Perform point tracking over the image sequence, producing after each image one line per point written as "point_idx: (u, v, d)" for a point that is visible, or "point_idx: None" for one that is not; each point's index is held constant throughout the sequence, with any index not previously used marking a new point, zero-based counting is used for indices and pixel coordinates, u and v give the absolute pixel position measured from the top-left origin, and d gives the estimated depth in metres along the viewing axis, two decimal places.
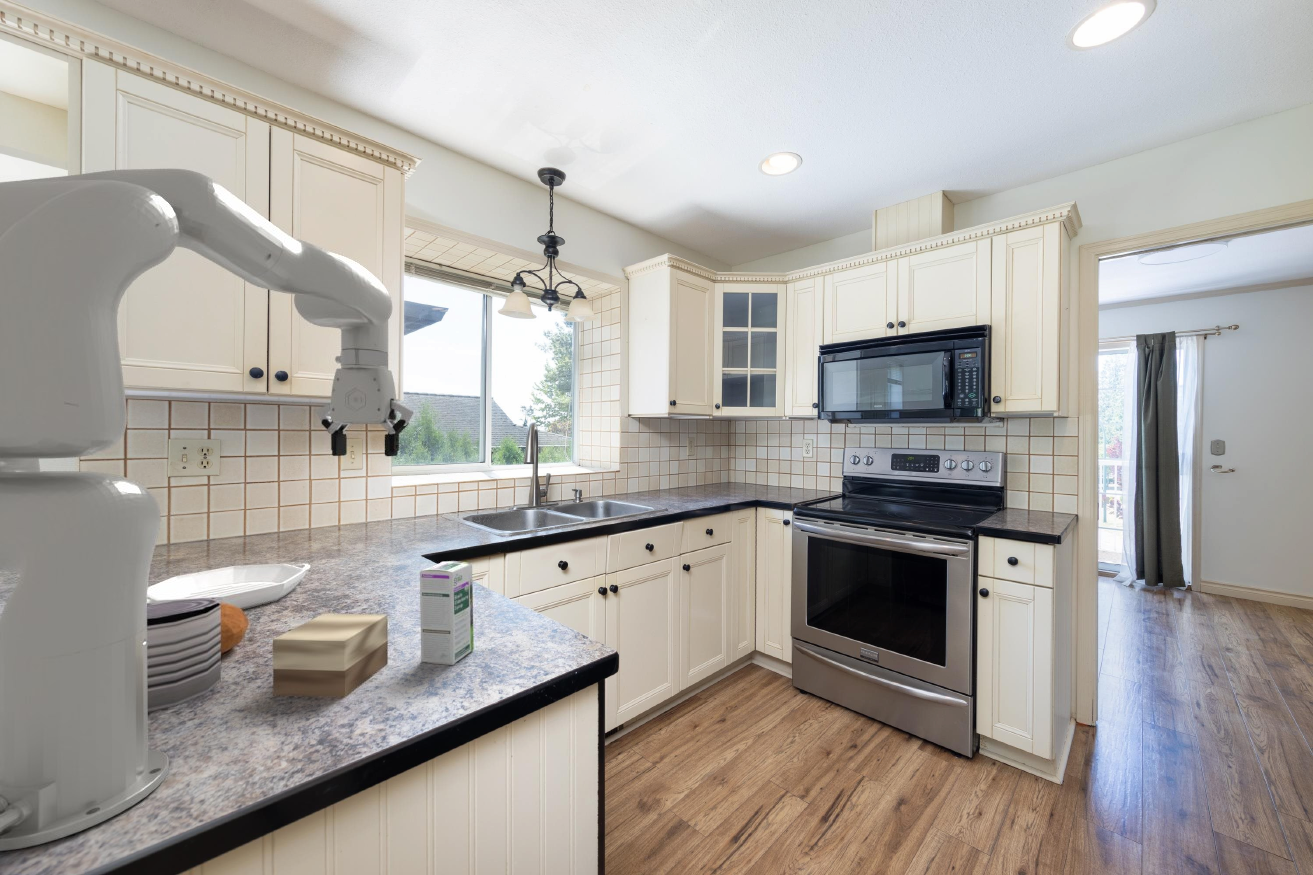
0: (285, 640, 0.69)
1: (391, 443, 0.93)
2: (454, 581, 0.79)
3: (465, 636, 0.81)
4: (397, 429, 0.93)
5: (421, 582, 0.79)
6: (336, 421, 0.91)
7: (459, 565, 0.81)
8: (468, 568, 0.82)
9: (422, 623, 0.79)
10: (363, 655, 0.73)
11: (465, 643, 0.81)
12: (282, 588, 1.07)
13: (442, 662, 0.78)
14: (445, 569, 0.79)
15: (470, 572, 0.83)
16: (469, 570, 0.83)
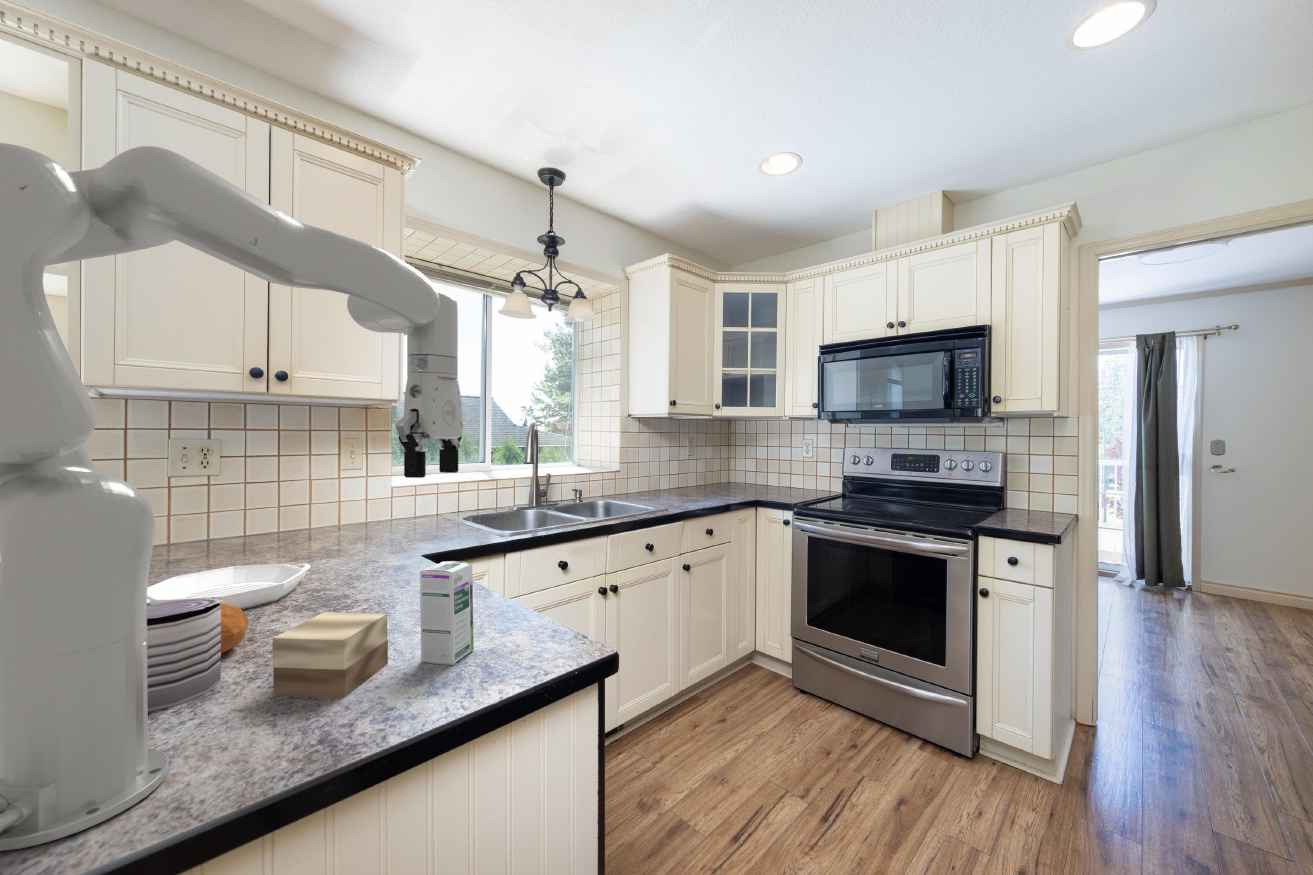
0: (285, 639, 0.69)
1: None
2: (454, 581, 0.79)
3: (465, 636, 0.81)
4: None
5: (421, 582, 0.79)
6: (435, 436, 0.79)
7: (459, 565, 0.81)
8: (468, 568, 0.82)
9: (422, 623, 0.79)
10: (363, 654, 0.73)
11: (465, 644, 0.81)
12: (282, 588, 1.07)
13: (442, 662, 0.78)
14: (445, 569, 0.79)
15: (470, 572, 0.83)
16: (469, 570, 0.83)
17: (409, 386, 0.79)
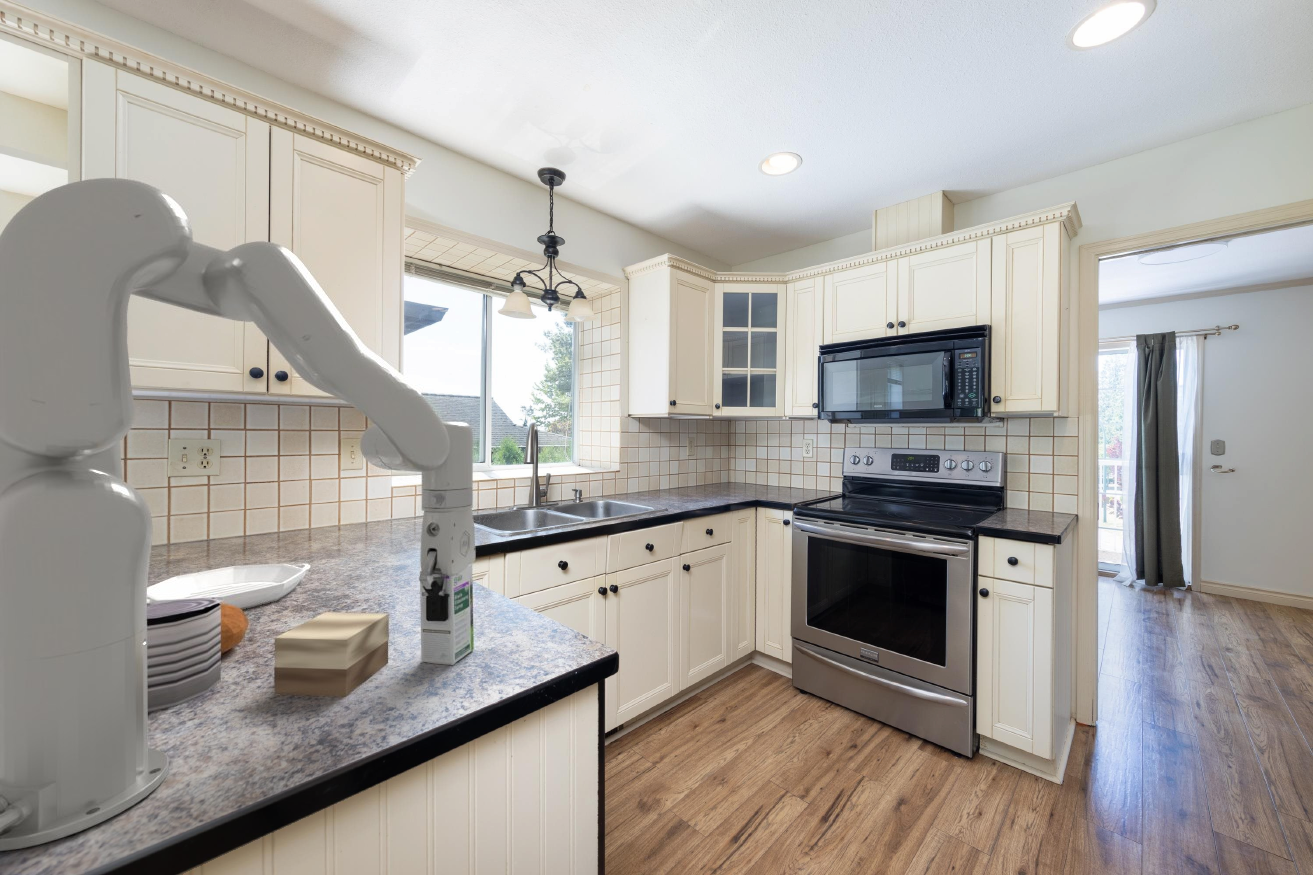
0: (287, 639, 0.69)
1: None
2: (454, 581, 0.79)
3: (465, 636, 0.81)
4: None
5: None
6: (453, 574, 0.78)
7: None
8: (468, 568, 0.82)
9: (422, 623, 0.79)
10: (365, 654, 0.73)
11: (465, 643, 0.81)
12: (282, 588, 1.07)
13: (442, 662, 0.78)
14: None
15: (470, 572, 0.83)
16: (469, 570, 0.83)
17: (427, 524, 0.77)
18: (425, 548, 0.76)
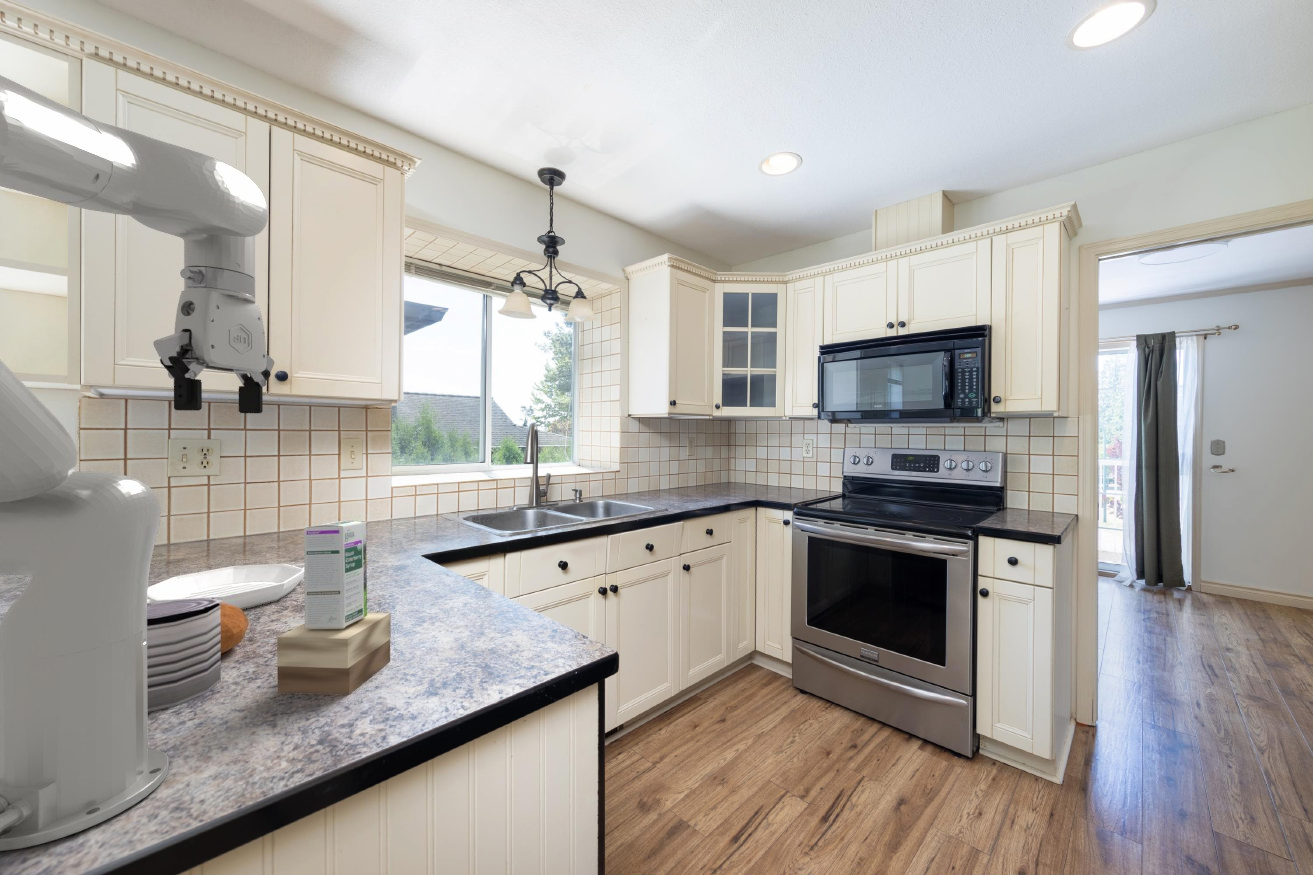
0: (289, 638, 0.70)
1: None
2: (345, 536, 0.73)
3: (357, 599, 0.75)
4: None
5: (306, 539, 0.72)
6: (215, 363, 0.67)
7: (351, 522, 0.76)
8: (361, 525, 0.77)
9: (306, 585, 0.72)
10: (366, 653, 0.73)
11: (358, 607, 0.75)
12: (282, 588, 1.07)
13: (330, 626, 0.72)
14: (334, 524, 0.73)
15: (364, 531, 0.77)
16: (362, 528, 0.77)
17: (181, 303, 0.67)
18: (179, 329, 0.66)
